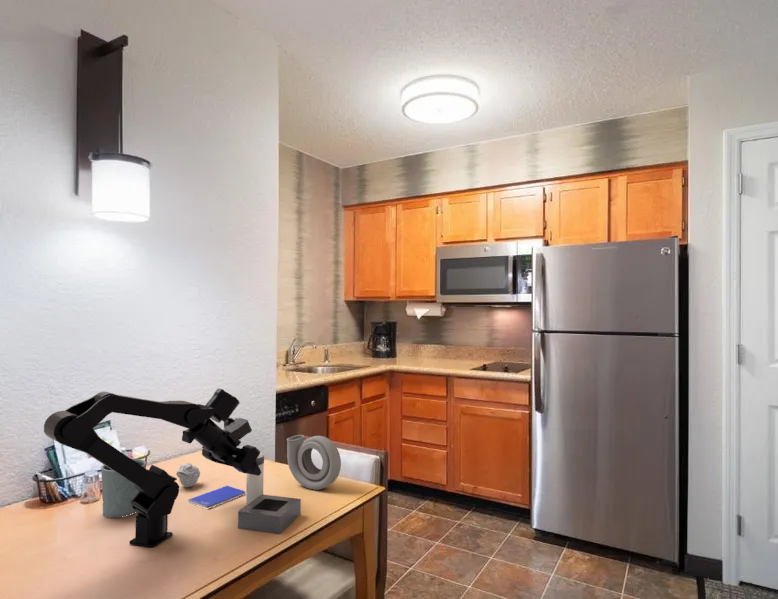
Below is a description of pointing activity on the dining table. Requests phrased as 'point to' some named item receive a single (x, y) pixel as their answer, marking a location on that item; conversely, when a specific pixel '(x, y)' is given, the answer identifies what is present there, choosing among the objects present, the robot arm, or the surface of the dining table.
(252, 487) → the white rounded cylinder
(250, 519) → the frame
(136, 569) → the dining table surface
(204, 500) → the hard drive
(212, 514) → the dining table surface
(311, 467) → the turbocharger housing
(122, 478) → the grey green pot
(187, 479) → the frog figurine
